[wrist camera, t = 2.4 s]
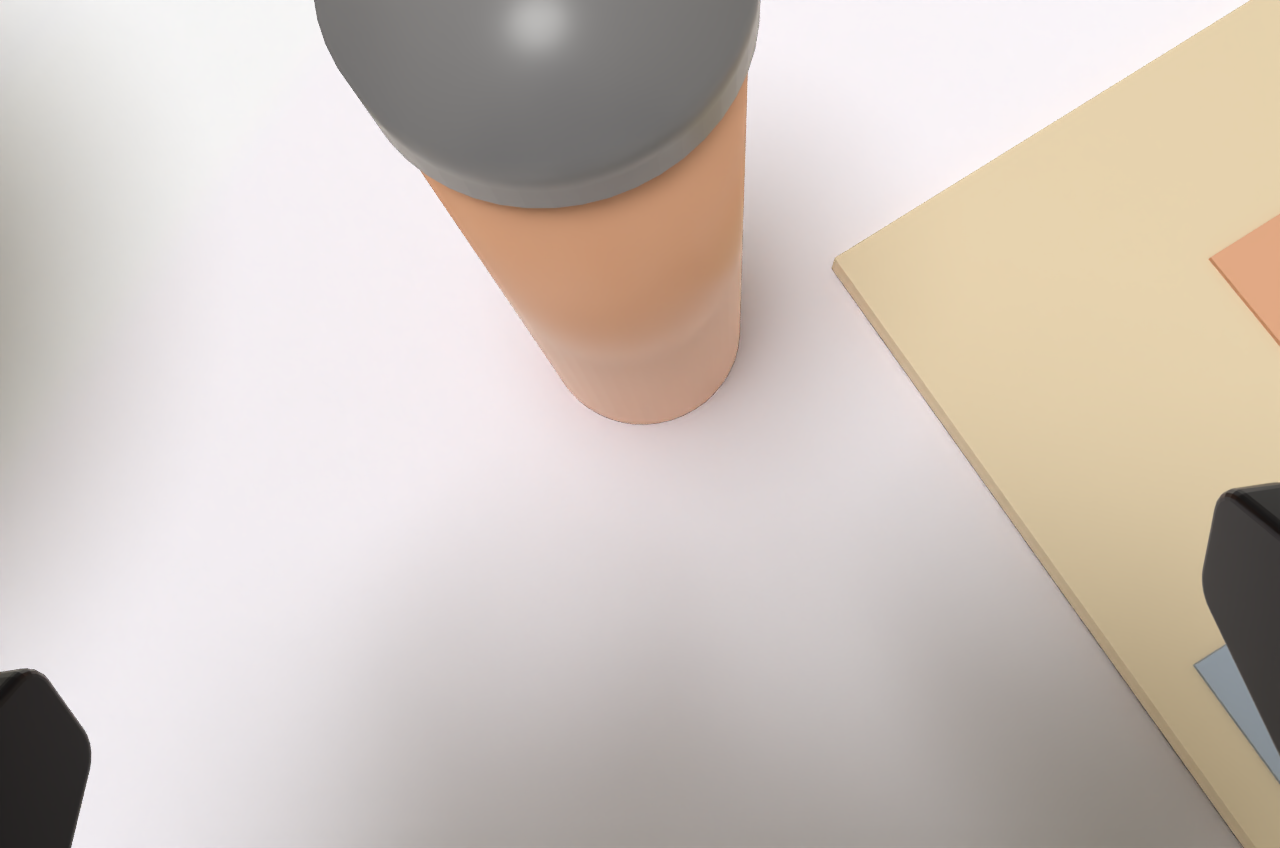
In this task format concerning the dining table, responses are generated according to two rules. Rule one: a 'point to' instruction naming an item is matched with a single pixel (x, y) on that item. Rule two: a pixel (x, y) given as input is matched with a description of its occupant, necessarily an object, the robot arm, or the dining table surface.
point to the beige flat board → (1119, 363)
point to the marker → (580, 170)
